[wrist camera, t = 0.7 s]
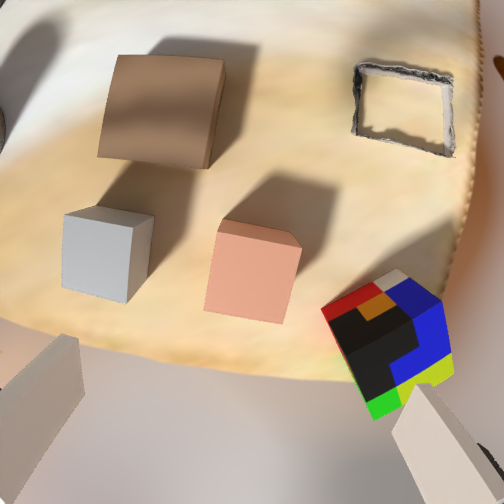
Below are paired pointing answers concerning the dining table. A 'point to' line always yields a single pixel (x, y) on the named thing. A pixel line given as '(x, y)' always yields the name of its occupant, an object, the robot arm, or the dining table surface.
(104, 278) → the slate grey cube
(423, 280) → the dining table surface
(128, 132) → the walnut base block
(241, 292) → the terracotta cube
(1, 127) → the pillar candle
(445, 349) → the puzzle toy
